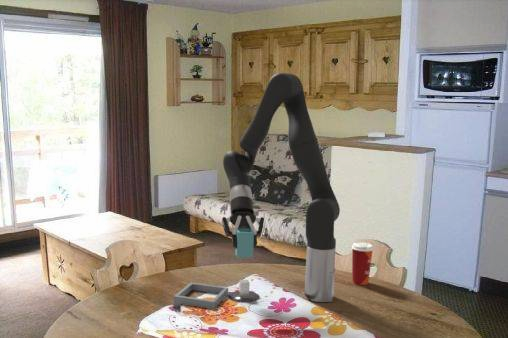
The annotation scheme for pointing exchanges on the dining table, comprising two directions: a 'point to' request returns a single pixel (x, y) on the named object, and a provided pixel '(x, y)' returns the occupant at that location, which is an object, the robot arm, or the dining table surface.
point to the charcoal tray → (181, 298)
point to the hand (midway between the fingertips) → (245, 247)
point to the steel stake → (243, 293)
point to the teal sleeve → (244, 243)
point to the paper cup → (361, 262)
